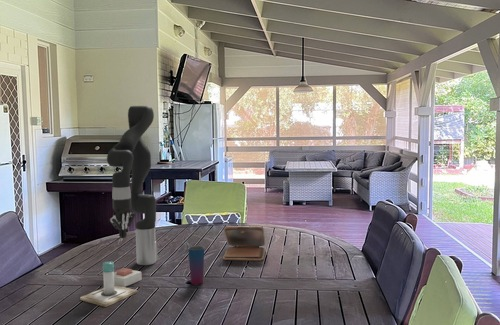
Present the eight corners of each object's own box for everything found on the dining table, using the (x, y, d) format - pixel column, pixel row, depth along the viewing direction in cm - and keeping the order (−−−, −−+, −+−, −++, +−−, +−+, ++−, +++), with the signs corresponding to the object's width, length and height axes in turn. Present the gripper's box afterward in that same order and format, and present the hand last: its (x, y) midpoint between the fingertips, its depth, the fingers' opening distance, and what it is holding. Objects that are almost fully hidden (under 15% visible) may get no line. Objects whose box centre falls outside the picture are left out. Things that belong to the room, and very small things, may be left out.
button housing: (124, 275, 203) (124, 268, 202) (141, 279, 198) (141, 271, 197) (107, 283, 194) (107, 274, 194) (124, 287, 189) (124, 278, 189)
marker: (109, 290, 182) (108, 260, 181) (117, 292, 180) (116, 262, 179) (101, 293, 179) (100, 263, 178) (108, 295, 177) (107, 265, 175)
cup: (190, 286, 190) (189, 250, 188) (187, 280, 196) (187, 246, 195) (206, 284, 191) (205, 249, 190) (203, 278, 198) (202, 245, 196)
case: (266, 249, 242) (265, 219, 241) (263, 261, 222) (262, 229, 220) (228, 249, 244) (227, 219, 243) (221, 261, 224) (220, 229, 222)
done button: (124, 274, 199) (124, 267, 198) (131, 275, 196) (131, 269, 196) (116, 277, 195) (116, 270, 195) (124, 278, 193) (124, 272, 192)
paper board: (112, 286, 190) (112, 283, 190) (137, 292, 183) (136, 289, 183) (80, 299, 176) (80, 296, 176) (105, 307, 169) (105, 303, 169)
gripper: (126, 194, 200) (128, 233, 202) (103, 198, 189) (104, 240, 190) (139, 195, 196) (140, 235, 198) (116, 200, 185) (117, 242, 187)
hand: (123, 237), depth 194 cm, fingers closed
